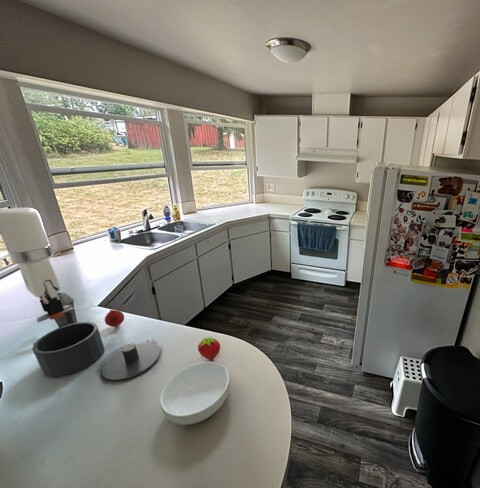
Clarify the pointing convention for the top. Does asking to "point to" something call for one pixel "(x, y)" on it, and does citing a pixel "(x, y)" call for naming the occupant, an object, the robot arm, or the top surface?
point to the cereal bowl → (195, 393)
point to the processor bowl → (68, 349)
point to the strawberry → (209, 348)
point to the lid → (130, 361)
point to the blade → (55, 316)
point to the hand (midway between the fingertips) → (54, 310)
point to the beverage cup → (67, 316)
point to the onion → (114, 318)
